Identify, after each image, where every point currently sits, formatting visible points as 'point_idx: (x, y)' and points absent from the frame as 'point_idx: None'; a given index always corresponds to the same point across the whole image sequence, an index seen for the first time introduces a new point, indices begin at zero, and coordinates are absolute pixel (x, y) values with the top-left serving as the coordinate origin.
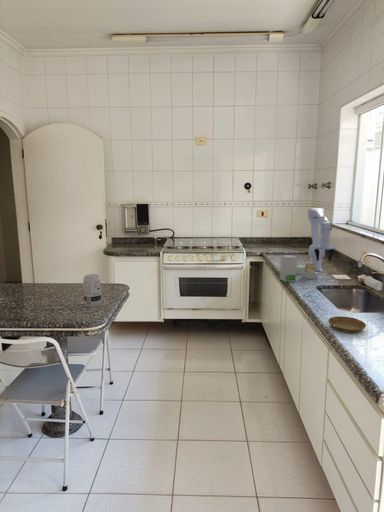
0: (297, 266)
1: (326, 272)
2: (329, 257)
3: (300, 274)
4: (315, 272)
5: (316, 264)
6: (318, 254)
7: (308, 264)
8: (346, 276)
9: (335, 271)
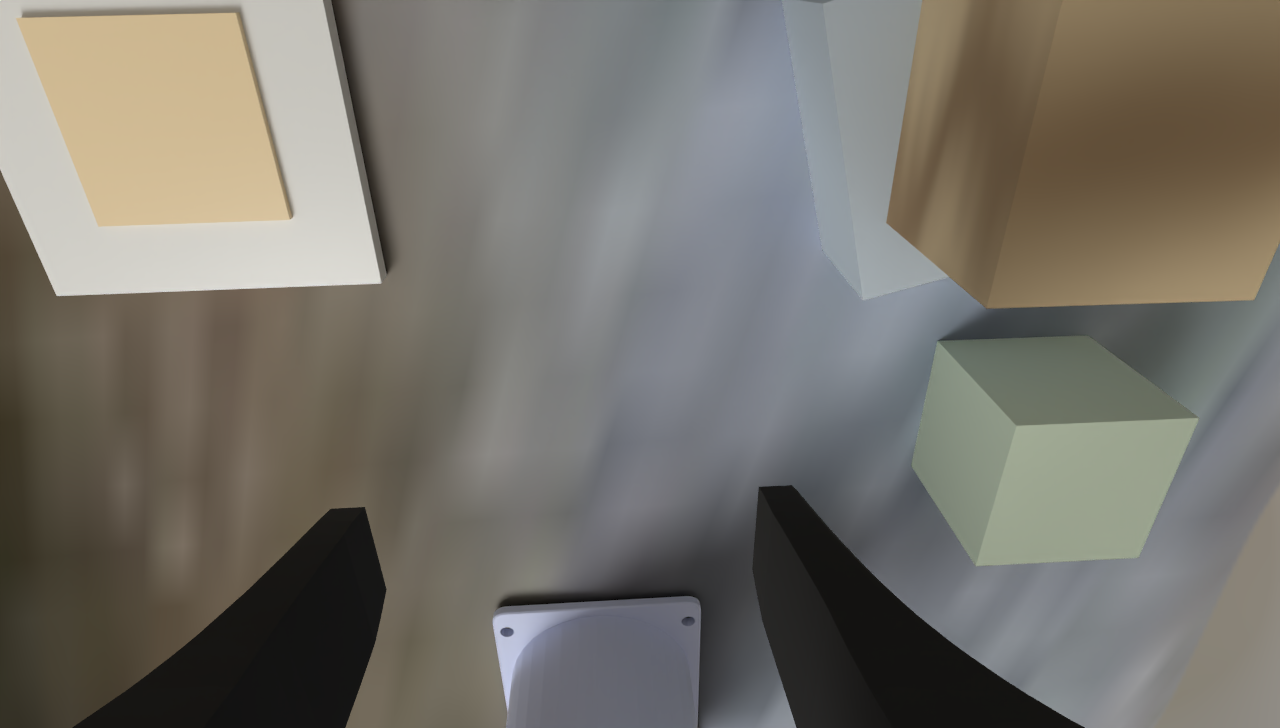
0: (1143, 492)
1: (447, 521)
2: (326, 637)
3: (1015, 339)
4: (882, 48)
5: (616, 708)
6: (893, 660)
7: (1255, 139)
8: (27, 163)
9: None
